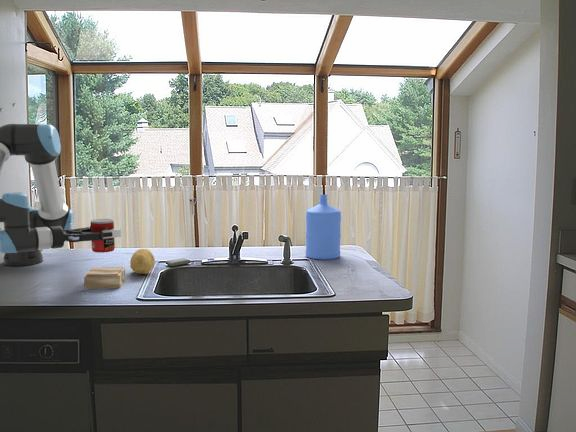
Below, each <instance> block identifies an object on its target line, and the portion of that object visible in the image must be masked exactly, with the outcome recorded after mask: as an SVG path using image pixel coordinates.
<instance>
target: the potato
mask: <svg viewBox="0 0 576 432" xmlns="http://www.w3.org/2000/svg"><path fill="white" fill-rule="evenodd" d="M129 264H130V269H131V270H132V272H133V273H136V274H138V275H144V274H145V275H147V274H149V273H150V272H151V271H153V269H154V268H155V264H156V259H155V256H154V254H153V252H152V251H151V249H148V248H140V249H138V250H135V252H134V253H133V254H132V256H131V258H130V263H129Z"/></svg>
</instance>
